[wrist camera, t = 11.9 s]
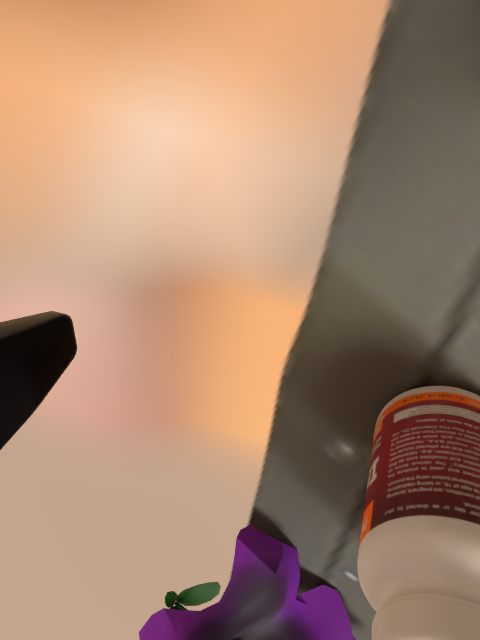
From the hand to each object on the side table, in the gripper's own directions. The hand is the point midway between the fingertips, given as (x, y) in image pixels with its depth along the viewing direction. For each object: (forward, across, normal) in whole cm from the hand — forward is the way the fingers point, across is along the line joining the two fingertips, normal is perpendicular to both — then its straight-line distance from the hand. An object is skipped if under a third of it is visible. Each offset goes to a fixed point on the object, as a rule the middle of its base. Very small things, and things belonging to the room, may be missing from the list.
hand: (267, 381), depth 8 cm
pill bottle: (+12, -6, +10) cm, 17 cm away
